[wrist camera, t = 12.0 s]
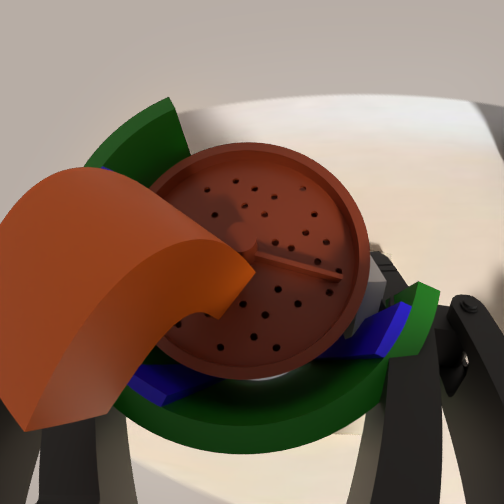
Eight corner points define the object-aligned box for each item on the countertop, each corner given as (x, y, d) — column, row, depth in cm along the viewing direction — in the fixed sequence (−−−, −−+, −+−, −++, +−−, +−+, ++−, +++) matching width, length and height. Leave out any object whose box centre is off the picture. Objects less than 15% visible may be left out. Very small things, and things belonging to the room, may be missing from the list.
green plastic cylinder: (344, 299, 22) (551, 95, 3) (289, 413, 20) (384, 644, 1) (219, 240, 24) (118, -28, 5) (161, 346, 22) (-117, 276, 3)
